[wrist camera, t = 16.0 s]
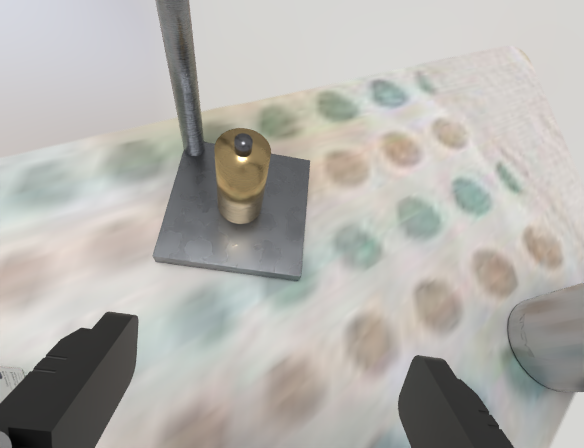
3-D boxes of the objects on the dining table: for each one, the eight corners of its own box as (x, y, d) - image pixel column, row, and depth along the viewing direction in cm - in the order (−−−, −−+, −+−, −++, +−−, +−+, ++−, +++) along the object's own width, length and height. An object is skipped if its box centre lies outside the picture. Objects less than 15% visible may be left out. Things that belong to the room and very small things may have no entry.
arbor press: (307, 161, 41) (491, -379, 12) (297, 281, 34) (655, -300, 5) (182, 139, 39) (52, -539, 11) (145, 260, 33) (-482, -708, 4)
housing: (264, 189, 37) (275, 123, 28) (259, 226, 35) (269, 168, 25) (221, 182, 36) (219, 113, 27) (214, 220, 34) (208, 159, 25)
